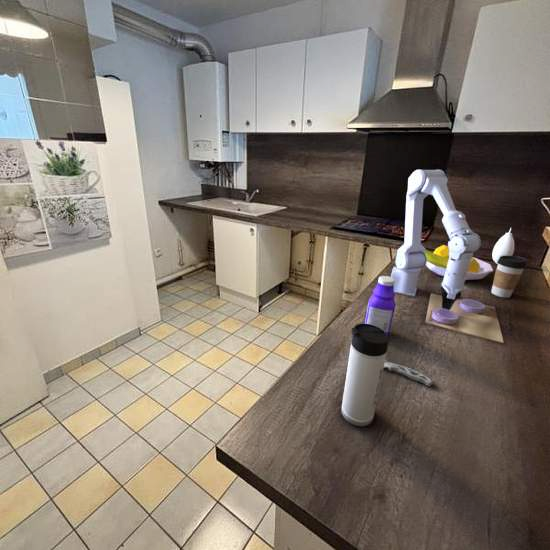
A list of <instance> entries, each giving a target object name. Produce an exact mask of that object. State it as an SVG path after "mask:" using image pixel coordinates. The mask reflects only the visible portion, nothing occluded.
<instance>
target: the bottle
mask: <svg viewBox="0 0 550 550" xmlns="http://www.w3.org/2000/svg"><path fill="white" fill-rule="evenodd" d="M394 281H395V280H394V279H393V278H391V276H388V275H380V276H379V277H378V282H377V285H375V287H374V289H373V290H372V293H373V294H372V295H371V296H370V297H369V299H368V304H367V309H366V315H365V319H364V320H365V321H364V324H370V325H374V326H376V327H379V328H381V329H382V330H383V331H384V333H386V334H387V335H388V336H389V334H390V332H391V329H392V323H393V318H394V314H395V310H396V307H397V305H396V301H395V296H396V292H394Z"/></svg>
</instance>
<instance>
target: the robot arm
mask: <svg viewBox="0 0 550 550" xmlns="http://www.w3.org/2000/svg"><path fill="white" fill-rule="evenodd" d="M448 181H449V179H448V178H447V176H446V173H445V172H444V170H442V169H416V170H414V171H413V172H412V173H411V174H410V176H409V177H408V179H407V192H406V196H405V197H406V198H405V199H406V200H405V201H406V202H405V220H404V240H403V241H404V242H403V244H402V245H401V246H400V247H399V248H397V252H396V253H397V254H396V256H395V259H394V260H395V261H394V262H395V266H393V267H392V270H391V274H390V277H391V278H393V279H394V280H395V281H394V293H397V294H398V293H399V294H403V295H407V296H412V297H415V296H416V293H417V290H418V288H417V285H418V281H419V276H420V272H421V271H422V269H423V268H425V266H426V263H427V256H426V253H425V250H426V251H427V249H426V248H425V246H424V245H422V232H423V231H422V230H423V229H422V228H423V212H424V211H423V210H424V199H425V198H426V197H428V196H429V195H430V196H433V199H434V200H435V202H436V204H437V206H438V207H439V209H440V211H441V213H442V215H443V217H442V218H441V223H442V224H443V227H444V229H445V231H446V233H447V235H448V238H449V241H448V243H447V246H448V247H449V251H450V252H449V260H448V264H447V268H446V271H445V275H444V276H443V279H442V282H441V283H440V285H441V287H440V295H441V296H442V308H444V309H448V310H450V309H451V307H452V305H453V304H454V302H455V301H456V300H457V299H459V298H461V296H462V291H468V286H467V285H465V282H466V280H465V279H466V275H467V272H468V269H469V266H470V262H471V259H472V257H474V256H473V255H474V252H477V251H478V250H479V249H480V247H481V244H482V242H481V236H480V235H479V234H478V233H475V232H474V231H473V230H472V229H471V228H470V226H469V224H468V222H467V220H466V219H467V218H466V217H467V216H466V215H465V214H464V213H463V212H462V211H459V210H457V209H456V207H455V203H454V201H453V199H452V196H451V194H450V191H449V188H448V186H447V185H448Z"/></svg>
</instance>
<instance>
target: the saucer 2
mask: <svg viewBox="0 0 550 550" xmlns="http://www.w3.org/2000/svg"><path fill="white" fill-rule="evenodd" d="M460 300H461V301H460V304H459V307H460V308H461V309H463V310H465V311H467V312H471V313H477V314H480V313H483V312H484V309H485V305H486V304H484V303H483V302H481V301H479V300H476V299H472V298H461V299H460Z"/></svg>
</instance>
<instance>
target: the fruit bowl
mask: <svg viewBox="0 0 550 550" xmlns="http://www.w3.org/2000/svg"><path fill="white" fill-rule="evenodd" d="M449 252H450V251H449V247H448V245H445V244H442V245H440V246H439V247H436V248H435V250H434V251H433V252H432V251H429V250H427V249H426V250H425V253H426V256H427V263H426V265H425V266H426V268H427V269H428V270H430V271H432V272H433V273H435V274H437V275H438V276H440V277H441V276H442V277H444V275H445V271H446V268H447V264H448V260H449ZM492 272H494V268H493V267H492V265H491V264H490V263H488V262H486V261H484V260H482V259H479V258H477V257H474V256H472V259H471V262H470V266H469V269H468V272H467V275H466V279H465V281H474V280H482V279H483V278H485V277H486V276H488V275H490V274H491V273H492Z"/></svg>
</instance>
